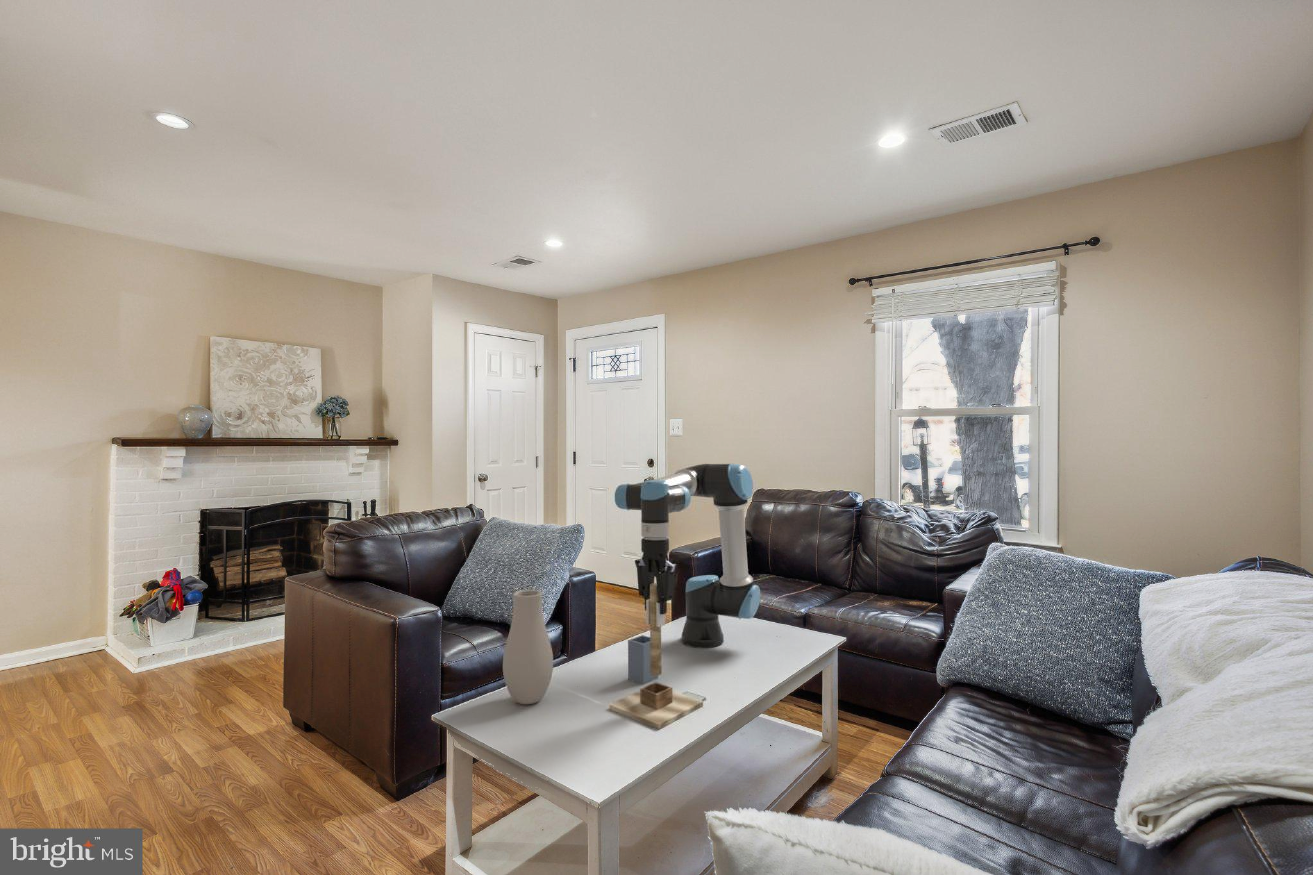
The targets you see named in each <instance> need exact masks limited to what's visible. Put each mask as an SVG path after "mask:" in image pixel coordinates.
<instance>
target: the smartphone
mask: <svg viewBox="0 0 1313 875" xmlns="http://www.w3.org/2000/svg"><path fill="white" fill-rule="evenodd" d="M681 694H683V695H686V696H689V697H691V698H694V699H697V700H700V701H703V702H705V701H706V700H707V698H706V696H702V695H699V694H696V693H692V692H689V691H684V692H682V693H681Z"/></svg>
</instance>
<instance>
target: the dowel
mask: <svg viewBox="0 0 1313 875" xmlns="http://www.w3.org/2000/svg"><path fill="white" fill-rule="evenodd" d="M657 601H658V591H657V582H654V583H652V584H650V624H649V632H650V633H649V634H650V635H649V637H650V673H651V675H658V676H661V675H662V670H663V669H662V626H660V627H656V602H657Z"/></svg>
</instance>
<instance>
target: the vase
mask: <svg viewBox="0 0 1313 875" xmlns="http://www.w3.org/2000/svg"><path fill="white" fill-rule="evenodd" d="M512 601H513V602H512V603H513V612H512V620H511V625H510V628H509V633H508V636H507V639H506V643H505V648H504V651H503V657H502V672H503V673H502V674H503V679H504V684H505V686H506V689H507V691H508V693H509V695H510V697H511V698H512V699H513V701H514V702H516V703H517V704H520V705H532V704H536V703H538V702H540V700H542V699H543V698H544V696H545V694H546V693H547V691H548V689H549V686H550V683H551V679H552V676H553V671H554V654H553V649H552V644H551V641H550V637H549V634H548V633H549V632H548V630H547V627H546V624H545V619H544V614H543V592H542V590H538V589H525V590H524V589H523V590H518V591H515V592H513V594H512Z"/></svg>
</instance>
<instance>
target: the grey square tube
mask: <svg viewBox="0 0 1313 875" xmlns="http://www.w3.org/2000/svg"><path fill="white" fill-rule="evenodd" d="M627 660H628V662H627V664H628V665H627V673H628V674H627V675H628V676H627V677H628V680H630V681H632V682H635V683H639V684H640V685H646V684H648V683H650V682H653V681H655V680H657V679H659V675H651V673H650V636H647V635H643V634H642V635H639V636H636V637H633V638H631V639H629V640H627Z"/></svg>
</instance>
